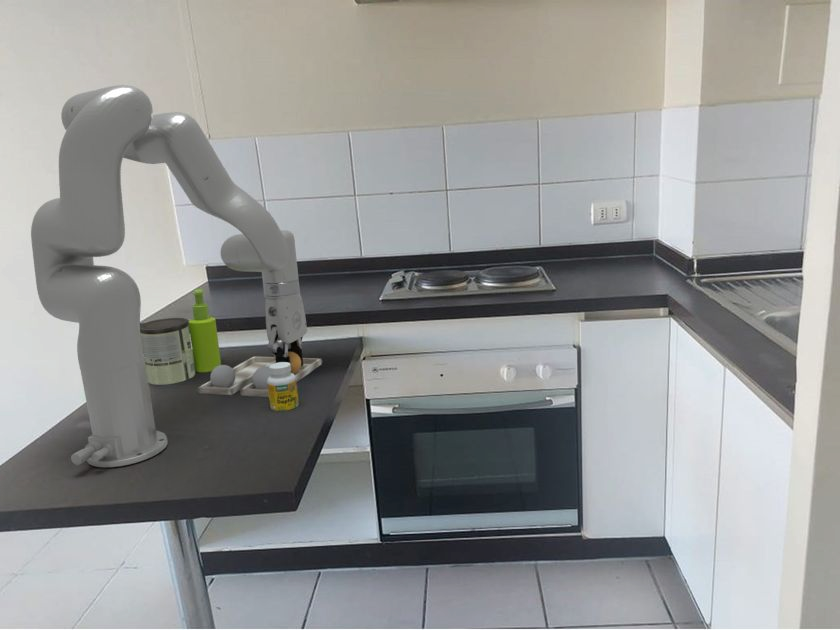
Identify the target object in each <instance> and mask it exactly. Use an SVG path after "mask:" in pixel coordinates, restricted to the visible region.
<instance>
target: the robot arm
mask: <svg viewBox="0 0 840 630" xmlns="http://www.w3.org/2000/svg"><path fill="white" fill-rule="evenodd" d="M153 110H154V109H153V105H152V101H151V99H150V98H149V96H148V94H146V93H145V92H144V91H143V90H141V89H140V88H138V87H135V86H132V85H126V84H119V85H112V86H107V87H103V88H98V89H95V90H90V91H85V92H80V93H77V94H75V95H73V96H71V97H70V98H68V99H67V100H66V101H65V102H64V104H63V106H62V108H61V123H62V126H63V128H64V130H65V133H64V135H63V137H62V140H61V143H60V147H59V152H58V182H59V184H58V186H59V197H57V198H53V199H50V200H48V201H46V202H44V203H43V204H42V205H41V206H40V207H39V208H38V209H37V210H36V212H35V214H34V216H33V218H32V223H31V227H30V230H31V231H30V239H31V240H30V241H31V248H32V256H33V257H32V258H33V259H32V260H33V266H34V273H35V285H36V290H37V295H38V298H39V301H40V304H41V305H42V307H43V308H44V310H45V311H46V312H47V313H48V314H49V315H51V316H52V317H54V318H56V319H57V320H61V321H64V322H65V321H66V322H70V323H71V322H72V323H77V324H79V325H78V336H77V343H76V344H77V345H76V352H77V361H78V365H79V369H80V370H79V371H80V376H81V380H82V385H83V391H84V396H85V402H86V406H87V407H86V408H87V412H88V418H89V422H90V428H91V433H92V434H91V435H90V436H87V441H88V443H87V444H86V445H85V447H84V448H82V449H80V450H78V451H76V452H74V453H72V454H71V456H70V460H71V462H72V463H73V464H74V465H76V466H79V465H81V464H83V463H84V462H86V463H88V465H91V466H93V467H97V468H117V467H124V466H128V465H133V464H137V463H140V462H143V461H145V460H147V459H148V460H149V459H151V458H153V457H154V456H156V455H159V454H160V453H161V452H162V451H163V450H165V448H166V447H167V445H168V442H169V441H168V436H167V434H165V433H164V432H162V431H160V430H157V427H156V423H155V415H154V410H153V405H152V397H151V392H150V385H149V383H148V379H147V372H146V366H145V360H144V355H143V349H142V342H141V333H140V325H141V308H142V307H141V305H142V303H141V294H140V293H141V292H140V289H139V286H138V284H137V283H136V281H135V280H134V279H133V277H132V276H130V274H128V273H127V272H125V271H124V270H121V269H119V268H117V267H113V266H107V265H95V263H94V258H100V257H108V256H110V255H113V254H115V253H116V252H118V251H119V250H120V249H121V248H122V246H123V244H124V241H125V238H126V237H125V235H126V231H125V230H126V228H125V227H126V226H125V216H124V215H125V214H124V202H123V193H122V185H121V184H122V177H121V176H122V172H121V171H122V168H121V167H122V162H123V160H124V159H126V160H130V161H133V162H138V163H143V164H148V165H156V164H157V165H158V164H165V165H166V166H167V167H168V169H169V170H170V172H171V173H172V175H173V176H174V179H176V181H177V183H178V184H179V185H180V188H181V189H182V190H183V192H184V193H185V195H186V197H187V198H188V199H189V201H190V202H191V204H192V205H193V207H195V208H197V209H199V210H201V211H202V212H205V213H206V214H208V215H211V216H213V217H215V218H218V219H221V220H222V221H224V222H226V223H228V224H230V225H231V226H233V227H234V228H235V229H237V230H238V231H239V232H240V233H238V234H235V235H231V236H229V237H228V238H227V239H225V241H224V242H223V243H222V245H221V248H220V251H219V252H220V253H219V254H220V258H221V260H222V263H224V265H225V266H227V267H228V268H229V269H231V270H234V271H236V272H249V273H250V272H252V273H253V272H257V273H261V277H262V279H261V280H262V286H263V297H264V298H265V305H264V306H265V309H264V311H265V328H266V334H267V335H266V336H267V340H268V343H267V348H268V349H269V351H271V353H272V354H273V357H275V360H276V363H279V362H288V363H290V356H288V352H294V353H296V354H297V355H298V356H299V357H300V359H301V366H303V358H304V357H303V351H302V350H303V337H305V335H306V334H307V332H308V327H307V320H306V313H305V311H306V310H305V307H304V306H305V305H304V303H303V302H304V301H303V298H302V295H301V291H300V290H301V289H300V282H299V280H300V279H299V272H298V271H299V270H298V269H299V268H298V262H297V250H296V239H295V236H294V233H292V232H291V231H289V230H281V229H280V227H279V225H278V224H277V222H276V220H275V218H274V217H273V216H272V215H271V213H270V212H269V211H268V209H267V208H265V207H264V206H263V204H261V203H260V202H258V200H256V199H254V197H252V196H251V195H250V194H249V193H248V192H246V190H244V189H242V188H241V187H239V186H238V185H237V184H236V183H235V181H233V179H232V178H231V177H230V175H229V173H228V171H227V170H226V168H225V166H224V165H223V162H221V159H220V158H219V157H218V154H217V153H216V152H215V150H214V148H213V145H211V142H210V141H209V140H208V138H207V136H206V134H205V133H204V130H203V129H202V128H201V126H200V124H199V123H198V121H197V120H196V119H194V118H193V117H192V116H191V115H189V114H187V113H184V112H179V111H178V112H177V111H176V112H175V111H173V112H172V111H171V112H164V113H159V114H157V113H156V114H154V113H153V112H154V111H153ZM279 341H281V342H279ZM281 346H282V347H281ZM290 373H291V372H290Z"/></svg>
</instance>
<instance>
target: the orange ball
mask: <svg viewBox="0 0 840 630" xmlns="http://www.w3.org/2000/svg"><path fill="white" fill-rule="evenodd" d="M288 356H290V364H291V373H293V374H294V373H296V372H297V371H298V370H299V369H300V367H301V359H300V357H299V356H298V355H297V354H296V353H294V352H288Z"/></svg>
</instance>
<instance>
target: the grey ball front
mask: <svg viewBox="0 0 840 630" xmlns="http://www.w3.org/2000/svg"><path fill="white" fill-rule="evenodd" d="M269 376H271V374H270V372H269V367H268V366H264V367H261V368H259V369H257V370H256V372H255V373H254V375H253V382H254V385H255V386H256V387H257V388H258V389H264V390H268V385H267V379H268V378H269Z"/></svg>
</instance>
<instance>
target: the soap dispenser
mask: <svg viewBox="0 0 840 630" xmlns="http://www.w3.org/2000/svg"><path fill="white" fill-rule="evenodd" d="M193 295H194V301H195V303H194V304H192V306H191V307H192V313H193V318H192V319H190V320H188V327H189V334H190V341H191V348H192V355H193V362H194V368H195V373H196V372H197V373H209V372H210V373H211V372H212V371H213V369H214V368H215V367H217V366H219V365H222V360H221V354H220V353H221V351H220V345H219V337H218V329H217V322H216V317H212V316H210V313H209V312H210V311H209V305H208V303H205V302H204V293H203V288H196V289H193Z"/></svg>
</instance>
